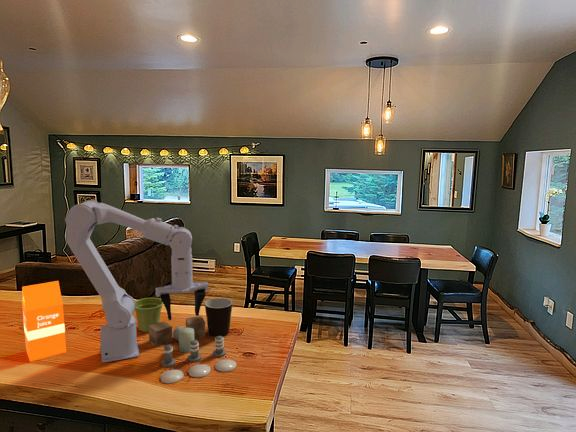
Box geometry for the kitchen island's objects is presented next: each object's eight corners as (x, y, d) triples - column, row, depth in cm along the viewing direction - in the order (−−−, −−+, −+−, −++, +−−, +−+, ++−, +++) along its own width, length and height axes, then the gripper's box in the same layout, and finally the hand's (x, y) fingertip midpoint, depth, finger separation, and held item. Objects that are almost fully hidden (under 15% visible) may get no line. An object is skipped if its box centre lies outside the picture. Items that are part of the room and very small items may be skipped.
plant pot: (167, 322, 132) (166, 297, 130) (159, 335, 123) (158, 308, 121) (139, 322, 132) (138, 297, 130) (129, 334, 122) (127, 308, 121)
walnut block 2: (188, 339, 120) (188, 324, 119) (186, 333, 124) (185, 318, 124) (205, 337, 122) (205, 322, 121) (201, 330, 126) (201, 315, 126)
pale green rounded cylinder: (180, 353, 112) (179, 335, 111) (177, 346, 115) (177, 329, 115) (196, 350, 113) (195, 332, 112) (193, 343, 117) (192, 326, 116)
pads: (161, 385, 96) (161, 383, 96) (159, 373, 101) (159, 372, 101) (238, 369, 104) (238, 367, 104) (233, 359, 109) (233, 357, 109)
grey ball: (174, 343, 117) (173, 331, 117) (172, 337, 121) (172, 325, 120) (187, 341, 119) (187, 328, 118) (185, 335, 122) (185, 323, 122)
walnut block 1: (156, 347, 115) (156, 331, 114) (149, 341, 119) (148, 325, 118) (172, 342, 118) (172, 326, 118) (164, 336, 122) (164, 321, 121)
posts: (162, 368, 104) (161, 350, 103) (160, 361, 107) (160, 344, 106) (227, 355, 111) (227, 339, 110) (224, 349, 114) (223, 333, 113)
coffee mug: (226, 340, 120) (226, 309, 118) (200, 337, 122) (200, 306, 120) (239, 324, 131) (239, 296, 130) (214, 321, 133) (214, 293, 131)
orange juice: (25, 350, 111) (19, 283, 108) (61, 341, 117) (56, 277, 114) (29, 362, 105) (23, 290, 102) (66, 352, 111) (61, 284, 108)
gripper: (156, 278, 104) (158, 326, 107) (210, 272, 110) (211, 318, 112) (154, 270, 111) (155, 316, 113) (205, 265, 117) (206, 309, 119)
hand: (183, 316), depth 113 cm, fingers open, 7 cm apart
